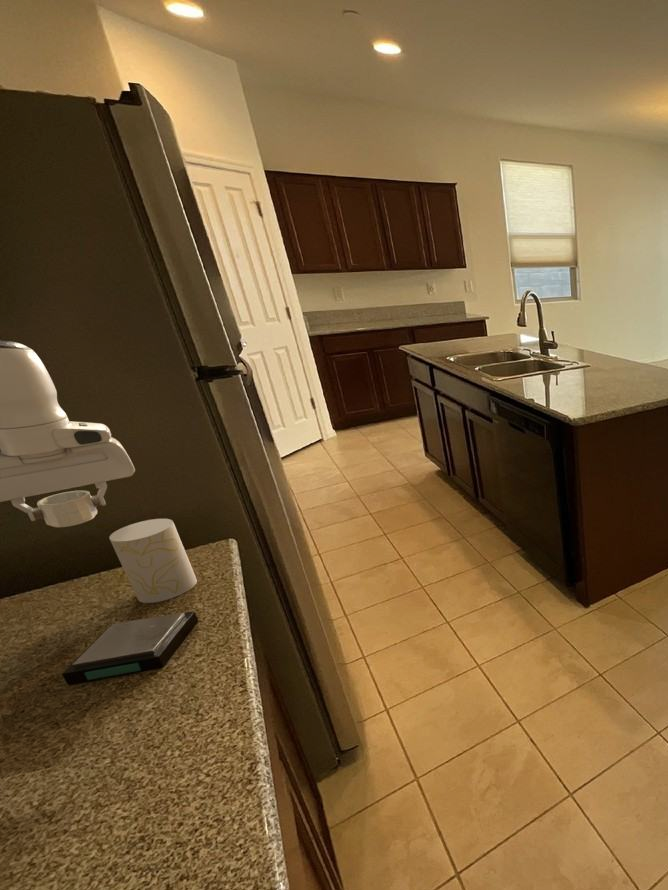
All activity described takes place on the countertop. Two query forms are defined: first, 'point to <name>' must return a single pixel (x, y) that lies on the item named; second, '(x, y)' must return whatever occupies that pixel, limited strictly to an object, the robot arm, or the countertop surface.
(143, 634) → the scale
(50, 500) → the bowl
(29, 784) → the countertop surface
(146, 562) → the cup
